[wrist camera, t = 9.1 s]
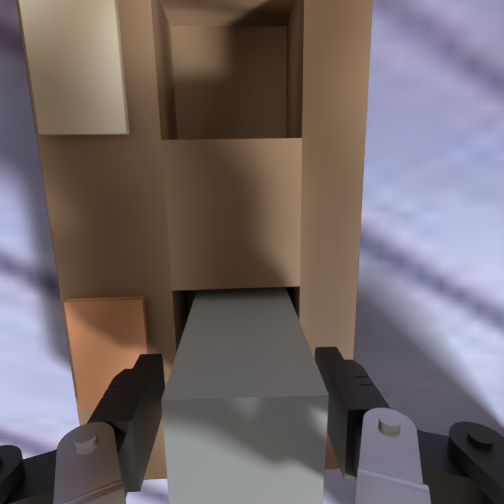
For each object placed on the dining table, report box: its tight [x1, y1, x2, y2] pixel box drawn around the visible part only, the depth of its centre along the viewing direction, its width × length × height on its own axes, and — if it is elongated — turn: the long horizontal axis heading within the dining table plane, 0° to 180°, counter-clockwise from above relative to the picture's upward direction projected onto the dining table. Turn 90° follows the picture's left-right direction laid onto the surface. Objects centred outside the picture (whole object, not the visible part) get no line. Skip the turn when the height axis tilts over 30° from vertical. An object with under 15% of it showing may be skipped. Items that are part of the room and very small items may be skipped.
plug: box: [161, 287, 329, 504], centre depth 14 cm, size 4×4×10 cm
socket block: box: [16, 0, 373, 480], centre depth 16 cm, size 12×24×5 cm, turn 1°
